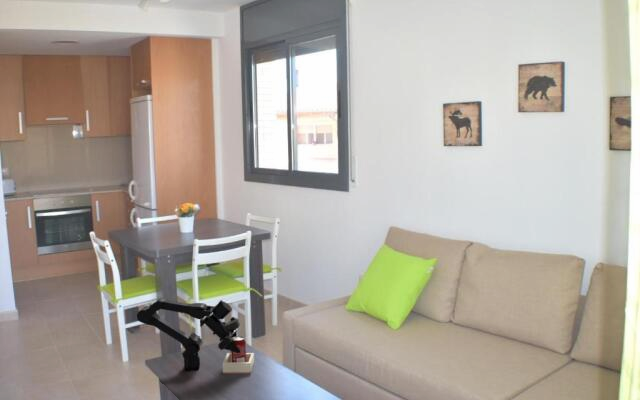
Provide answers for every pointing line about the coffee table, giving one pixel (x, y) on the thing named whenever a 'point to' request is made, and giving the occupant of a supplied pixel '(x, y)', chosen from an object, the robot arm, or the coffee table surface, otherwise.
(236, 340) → the soda can
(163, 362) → the coffee table surface
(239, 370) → the open box
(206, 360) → the coffee table surface
